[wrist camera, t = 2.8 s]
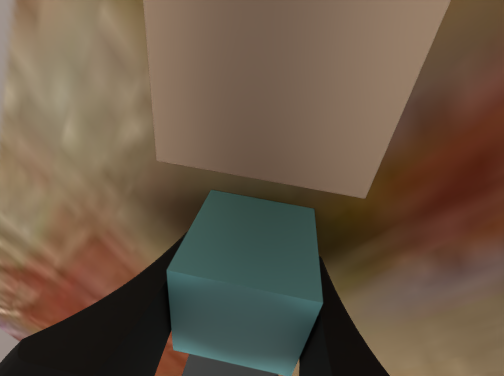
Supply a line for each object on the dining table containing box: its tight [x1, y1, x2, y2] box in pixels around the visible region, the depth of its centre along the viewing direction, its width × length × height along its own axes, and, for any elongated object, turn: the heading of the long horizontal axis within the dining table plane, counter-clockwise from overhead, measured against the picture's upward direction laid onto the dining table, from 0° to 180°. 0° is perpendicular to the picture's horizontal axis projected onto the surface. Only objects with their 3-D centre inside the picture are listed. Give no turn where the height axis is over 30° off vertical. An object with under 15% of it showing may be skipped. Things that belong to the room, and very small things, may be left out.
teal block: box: [167, 190, 323, 376], centre depth 11 cm, size 5×5×5 cm
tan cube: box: [143, 0, 451, 199], centre depth 7 cm, size 5×5×5 cm
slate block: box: [182, 354, 278, 376], centre depth 16 cm, size 5×5×5 cm
